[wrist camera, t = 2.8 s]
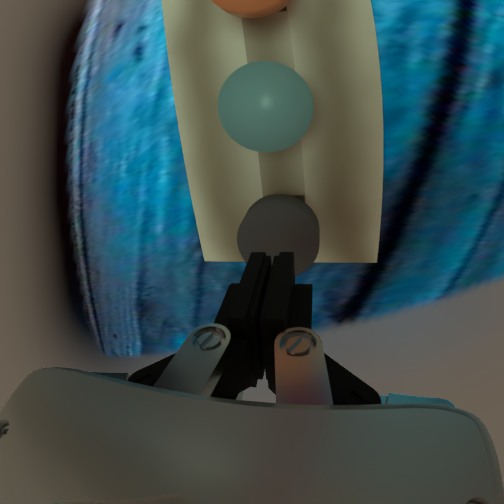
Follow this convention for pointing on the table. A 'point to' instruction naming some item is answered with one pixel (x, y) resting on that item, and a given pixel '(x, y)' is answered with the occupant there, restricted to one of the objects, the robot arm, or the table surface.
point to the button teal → (265, 106)
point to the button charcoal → (280, 230)
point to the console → (308, 146)
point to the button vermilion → (251, 7)
